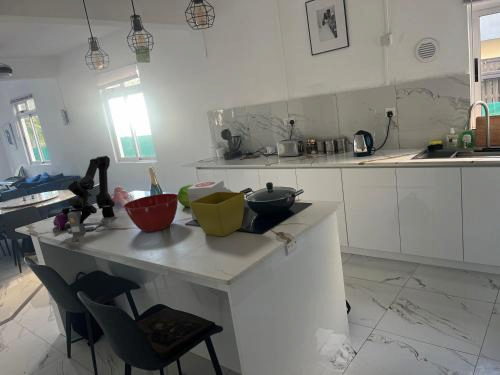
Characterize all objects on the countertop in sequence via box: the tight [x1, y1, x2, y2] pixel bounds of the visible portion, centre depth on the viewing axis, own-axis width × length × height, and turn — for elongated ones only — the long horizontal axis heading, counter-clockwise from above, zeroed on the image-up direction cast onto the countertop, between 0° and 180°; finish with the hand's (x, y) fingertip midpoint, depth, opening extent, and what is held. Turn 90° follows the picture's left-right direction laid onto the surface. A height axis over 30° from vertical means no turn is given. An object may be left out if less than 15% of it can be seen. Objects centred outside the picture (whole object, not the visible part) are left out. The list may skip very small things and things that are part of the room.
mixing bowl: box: [123, 193, 179, 233], centre depth 197 cm, size 28×28×16 cm
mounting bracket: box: [52, 213, 69, 232], centre depth 230 cm, size 10×9×19 cm
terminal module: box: [67, 211, 87, 237], centre depth 206 cm, size 5×6×13 cm
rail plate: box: [67, 220, 103, 234], centre depth 218 cm, size 16×10×3 cm, turn 81°
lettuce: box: [177, 184, 194, 208], centre depth 229 cm, size 15×22×15 cm
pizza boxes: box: [187, 180, 233, 221], centre depth 207 cm, size 19×30×18 cm, turn 139°
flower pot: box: [190, 191, 245, 237], centre depth 175 cm, size 19×19×17 cm
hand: (75, 224), depth 206 cm, fingers closed on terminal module, 5 cm apart
